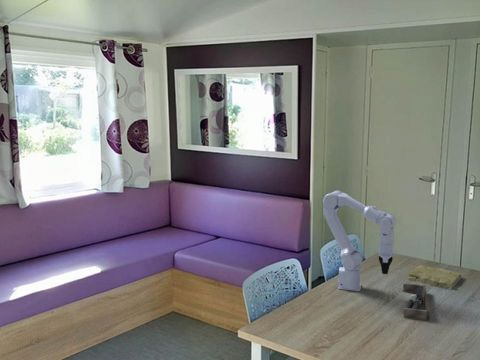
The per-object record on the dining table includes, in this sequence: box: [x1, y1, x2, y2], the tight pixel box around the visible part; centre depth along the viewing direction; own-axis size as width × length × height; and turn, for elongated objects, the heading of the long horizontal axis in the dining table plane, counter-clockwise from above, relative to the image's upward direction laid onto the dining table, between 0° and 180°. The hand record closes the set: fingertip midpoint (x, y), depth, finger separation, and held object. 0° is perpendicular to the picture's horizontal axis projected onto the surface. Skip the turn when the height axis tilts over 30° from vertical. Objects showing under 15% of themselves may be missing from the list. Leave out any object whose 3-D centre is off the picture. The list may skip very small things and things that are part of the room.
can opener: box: [402, 288, 424, 315], centre depth 198 cm, size 19×5×6 cm, turn 150°
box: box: [402, 282, 430, 321], centre depth 201 cm, size 9×28×4 cm, turn 163°
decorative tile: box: [407, 264, 462, 290], centre depth 230 cm, size 19×20×4 cm
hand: (384, 273), depth 210 cm, fingers closed
